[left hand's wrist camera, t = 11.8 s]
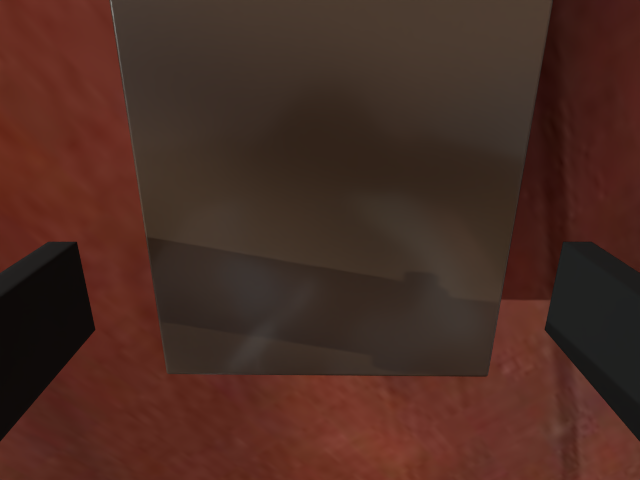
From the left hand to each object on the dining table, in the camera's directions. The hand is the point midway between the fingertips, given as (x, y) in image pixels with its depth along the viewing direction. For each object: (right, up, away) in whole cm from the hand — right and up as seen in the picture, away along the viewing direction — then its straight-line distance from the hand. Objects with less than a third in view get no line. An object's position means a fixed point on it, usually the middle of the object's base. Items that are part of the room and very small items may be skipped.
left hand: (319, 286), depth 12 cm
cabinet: (0, +8, +8) cm, 11 cm away
